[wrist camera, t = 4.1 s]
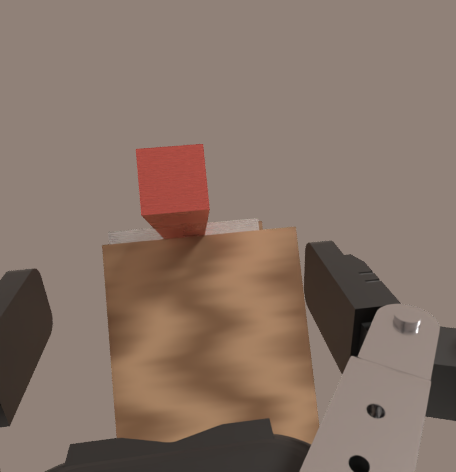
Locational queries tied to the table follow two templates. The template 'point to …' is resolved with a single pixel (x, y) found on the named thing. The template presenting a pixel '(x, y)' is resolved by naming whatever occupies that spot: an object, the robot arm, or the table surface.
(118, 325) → the stand
